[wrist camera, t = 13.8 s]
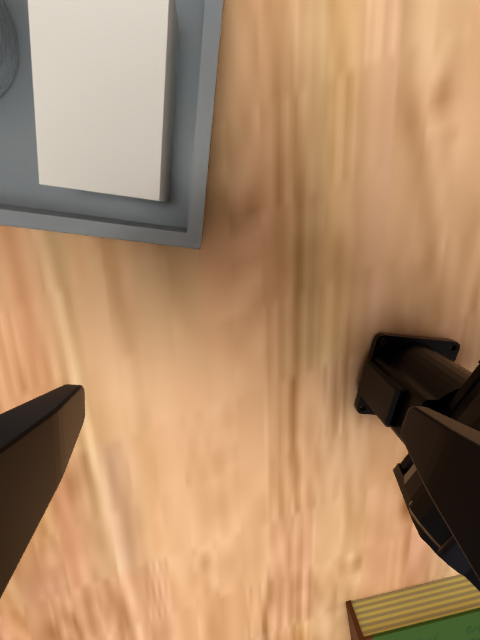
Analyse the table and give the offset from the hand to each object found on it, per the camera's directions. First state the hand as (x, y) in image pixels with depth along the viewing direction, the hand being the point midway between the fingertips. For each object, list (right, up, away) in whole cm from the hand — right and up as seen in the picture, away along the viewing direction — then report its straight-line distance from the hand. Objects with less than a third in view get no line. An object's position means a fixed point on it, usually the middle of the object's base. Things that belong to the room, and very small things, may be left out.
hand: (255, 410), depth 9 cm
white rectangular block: (-6, +13, +8) cm, 16 cm away
